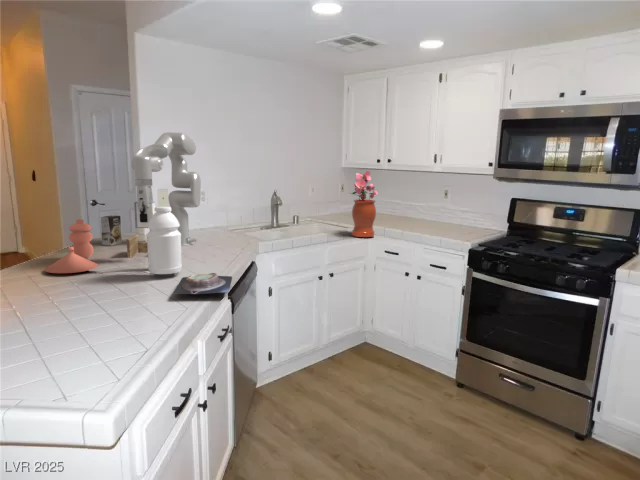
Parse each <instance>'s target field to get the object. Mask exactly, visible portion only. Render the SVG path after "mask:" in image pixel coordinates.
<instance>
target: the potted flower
mask: <svg viewBox="0 0 640 480" xmlns="http://www.w3.org/2000/svg"><path fill="white" fill-rule="evenodd" d="M355 175H356V177H355V182H354V184H353V187H354V191H353V192H349V194H351V195H356V196H357V197H359V199H353V202H354V204H353V207H352V209H351V215H352V220H353V229H352V230H351V236H352V237H359V238H373V237H375V232H376V231H375V230H374V227H373V226H374V222H375V220H376V217H377V209H376V205H375V203H376V200H374V197H375V196H377V195H379V193H378V191H377V190H376V189H375V186H374V184H373V183H370V184H369V185H368V183H369V182H370V181H371V180H372V177H371V171H369V170H365V172H364V173H363V174H361V173H359V172H358V173H357V172H356V173H355ZM367 191H369V199H367V194H368V192H367ZM371 191H372V192H371ZM357 194H358V195H357Z"/></svg>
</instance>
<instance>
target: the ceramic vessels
mask: <svg viewBox="0 0 640 480" xmlns="http://www.w3.org/2000/svg"><path fill="white" fill-rule="evenodd" d="M68 230H69V231H70V233H69V236H68V239H69V240H70V242H71V243H72V245H71V246H69V247H68V248H67V249H68V254H66V255H65V256H63V257H61V258H60V259H59V260H57V261H55V262H54V263H52V264H50V265H48V266H47V267H45V268H44V270H43V271H44V272H46V273H51V274H72V273H73V274H75V273H81V272H86V271H90V270H93V269H94V270H95V269H97V268H98V267H99V266H100V265H99V263H97V262H95V261H92V260H90V259H89V258H90V257H92V256H93V254H94V252H95V251H94V247H93V245H92V243H90V242H91V241H92V240H93V238H94V237H93V233H92V232H90V231H91V230H92V226H91V225H90V224H88V223H85V221H84V219H80V218H79V219H76V223H74V224H72V225H70V226H69V229H68Z"/></svg>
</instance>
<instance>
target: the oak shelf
mask: <svg viewBox="0 0 640 480" xmlns="http://www.w3.org/2000/svg"><path fill="white" fill-rule="evenodd" d="M126 250H127V251H126V252H127V258H129V259H130V258H132V257H134V256H136V255H137V254H138V253H148V250H147V242H139V234H136V235H133V236H131V237H129V238H128V239H126Z"/></svg>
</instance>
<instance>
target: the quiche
mask: <svg viewBox="0 0 640 480" xmlns="http://www.w3.org/2000/svg"><path fill="white" fill-rule="evenodd" d="M232 280H233V276H229V275H218V274H217V273H215V272H210V273H196V274H191V275H188V276H184V277H183V276H182V278H180V281H179V282H178V283H177V286H176V287H175V289H174V290H173V292H172V294H173V295H174V294H176V295H177V294H179V295H181V294H184V295H203V294H204V295H205V294H218V293H228V292H230V289H231V283H232Z"/></svg>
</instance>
